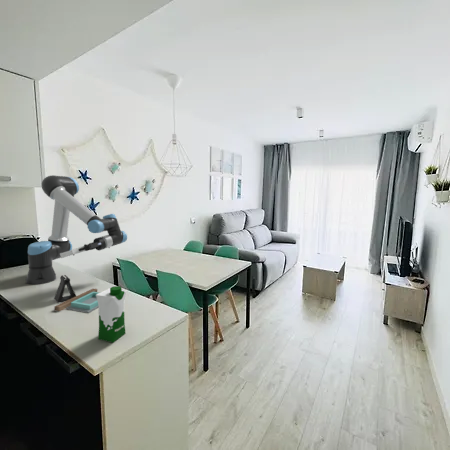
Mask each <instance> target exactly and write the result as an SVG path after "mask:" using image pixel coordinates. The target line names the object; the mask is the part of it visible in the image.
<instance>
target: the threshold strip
mask: <svg viewBox="0 0 450 450" xmlns="http://www.w3.org/2000/svg"><path fill="white" fill-rule="evenodd" d="M91 292H98V288H91V289H89V290H86V291H84V292H82V293H80V294H79V295H76V297H74V298H71V299H69V300H67V301H64V302H60V303H58V304H57V305H55V306H54V311H56V312H61V311H64V310H67V309H66V307H68V306H70V305H71V302H73V301H75V300H77V299H79V298H81V297H83V296H85V295H87V294H89V293H91Z"/></svg>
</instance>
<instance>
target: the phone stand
mask: <svg viewBox="0 0 450 450" xmlns="http://www.w3.org/2000/svg"><path fill="white" fill-rule="evenodd" d="M59 279H60V281H59V285H58V287H57V290H56V293H55V295H54V298H53V299H54V301H55V302H56V303H57V304H61V303H63V302H65V301H67V300H69V299H71V298H74V297H76V296H77V294H76V292H75V290H74V288H73V286H72V285H71V279H70V278H69V277H68V276H67V275H66V274H64V275H60V278H59ZM66 287H67V291H68V293H69V295H65V296H64V292H65V289H66Z"/></svg>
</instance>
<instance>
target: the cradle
mask: <svg viewBox="0 0 450 450" xmlns="http://www.w3.org/2000/svg"><path fill="white" fill-rule="evenodd" d="M98 293H100V292H98V291H97V292H91V293H89V294H87V295H85V296H83V297H81V298H79V299H77V300H75V301H73V302H71V305H70V306H68V307H66V309H65V310H70V311H76V312H82V313H87V314H90V313H91V312H93V311H95V310H97V309H99V305H98V301H97V297H96V294H98Z"/></svg>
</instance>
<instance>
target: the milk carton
mask: <svg viewBox="0 0 450 450" xmlns="http://www.w3.org/2000/svg"><path fill="white" fill-rule="evenodd" d="M126 295H127V290H125V289H122V286H120V285H119V286H118V285H117V286H116V285H115V286H112V287H109V288H107V289H105V290H103V291H101V292H99V293H98V294H96V297H97V301H98V305H99V308H98V336H97V339H98V340H101V341H104V342H109V343H113V344H114V343H115V342H117V341H118V340H119V339H120V338H122V337H123V336H124V335H126V326H125V325H126V323H125V300H126Z"/></svg>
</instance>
